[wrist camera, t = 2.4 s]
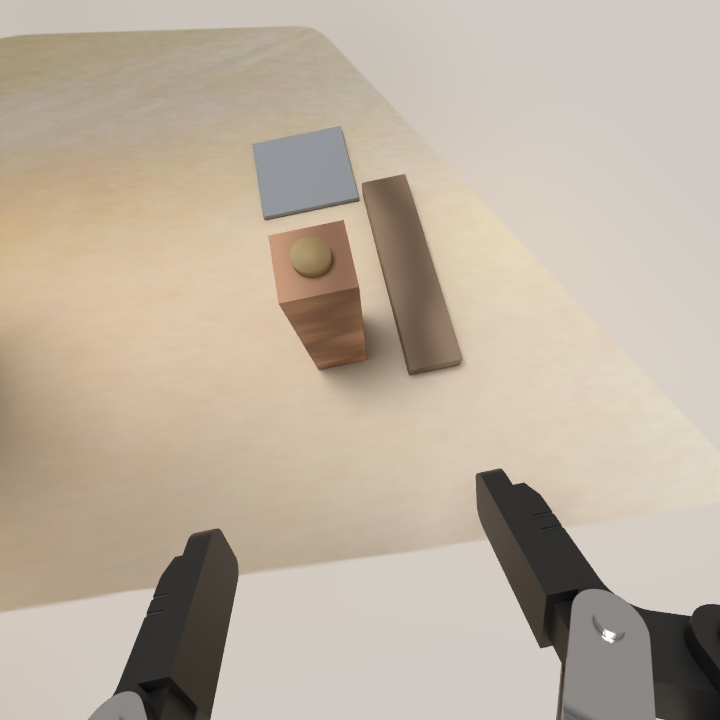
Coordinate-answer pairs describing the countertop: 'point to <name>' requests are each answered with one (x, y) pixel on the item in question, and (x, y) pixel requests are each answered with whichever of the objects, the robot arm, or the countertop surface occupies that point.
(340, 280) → the post
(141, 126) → the countertop surface
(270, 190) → the slate mat
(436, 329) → the walnut board
